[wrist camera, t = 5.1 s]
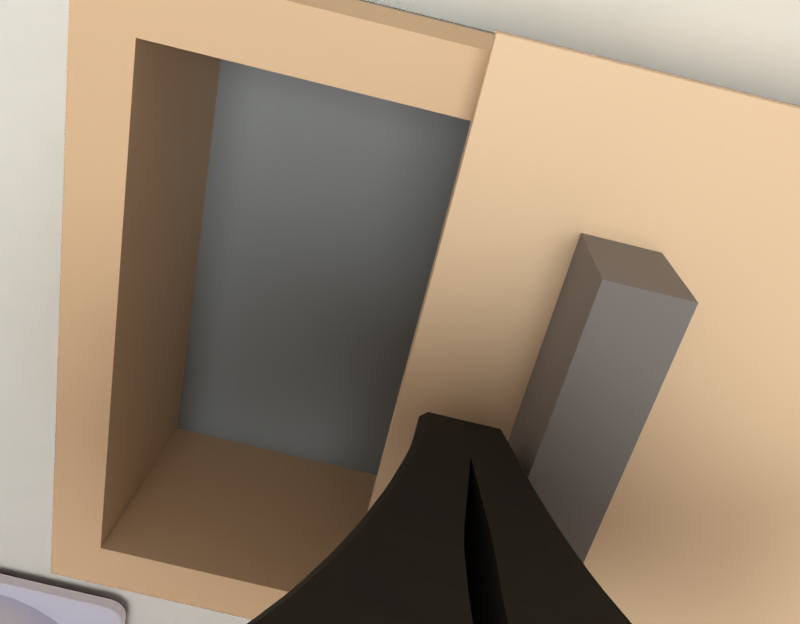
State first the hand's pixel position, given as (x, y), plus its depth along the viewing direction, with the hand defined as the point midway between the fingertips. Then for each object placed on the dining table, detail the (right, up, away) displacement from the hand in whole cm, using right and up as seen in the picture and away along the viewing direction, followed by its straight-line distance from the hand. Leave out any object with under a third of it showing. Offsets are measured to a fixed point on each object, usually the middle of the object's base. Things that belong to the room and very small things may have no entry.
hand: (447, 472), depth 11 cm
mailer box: (+1, +3, +6) cm, 7 cm away
